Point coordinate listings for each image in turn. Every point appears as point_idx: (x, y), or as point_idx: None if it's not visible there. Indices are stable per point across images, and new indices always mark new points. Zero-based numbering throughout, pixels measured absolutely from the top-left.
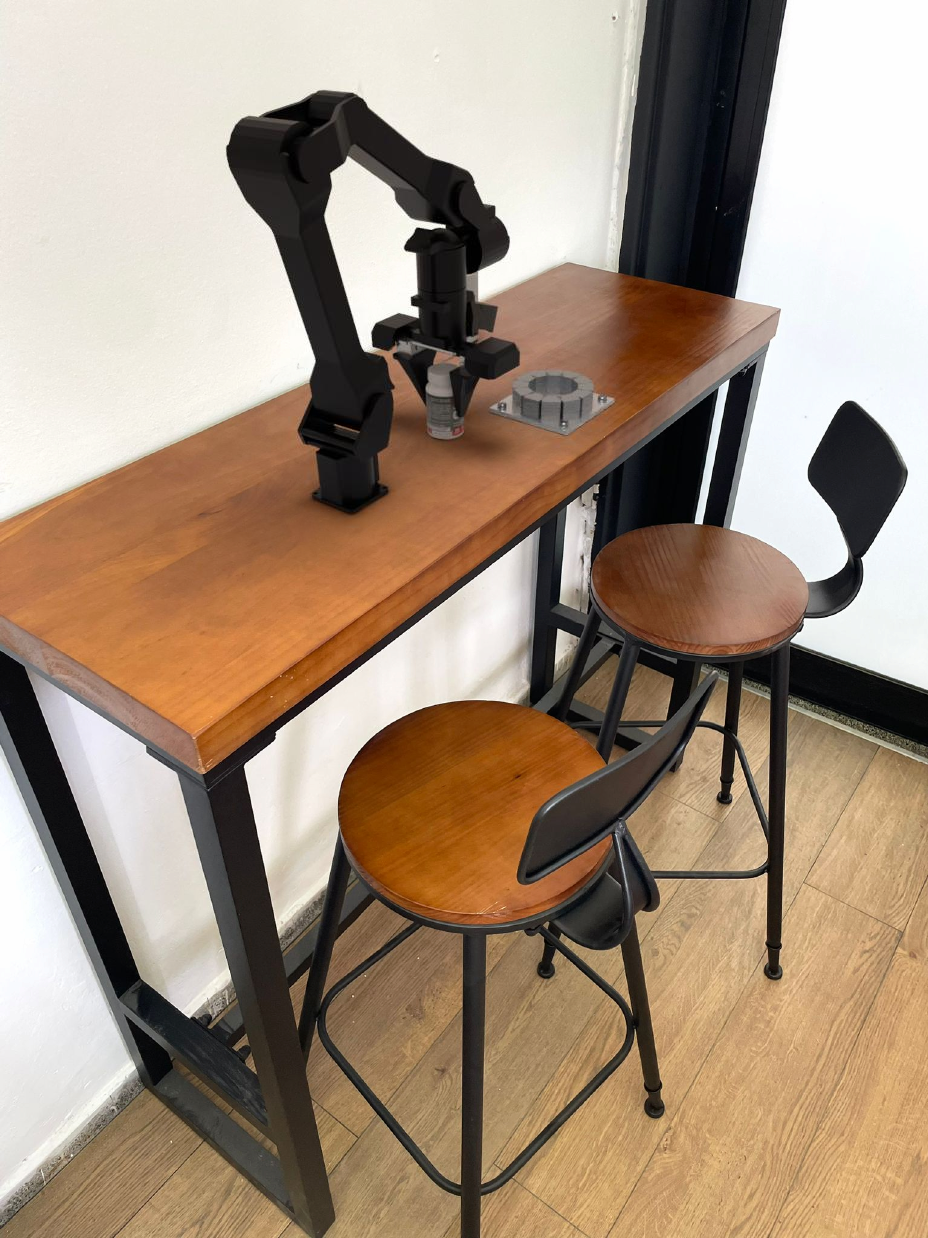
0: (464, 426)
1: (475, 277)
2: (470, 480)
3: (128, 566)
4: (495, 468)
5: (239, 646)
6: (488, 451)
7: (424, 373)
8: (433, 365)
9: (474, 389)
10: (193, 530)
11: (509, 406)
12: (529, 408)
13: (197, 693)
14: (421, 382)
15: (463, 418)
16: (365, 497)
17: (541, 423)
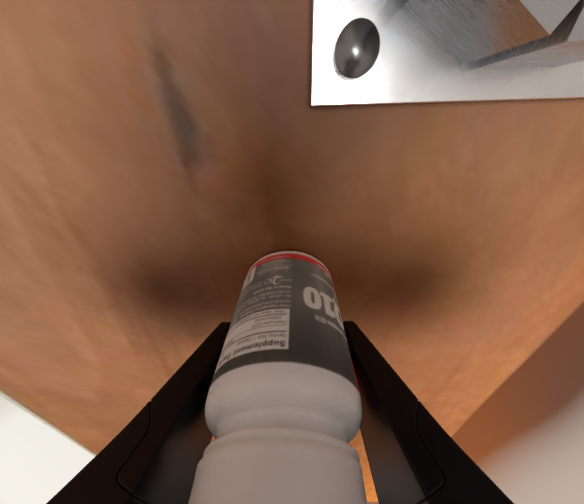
0: (328, 273)
1: None
2: (425, 366)
3: None
4: (456, 331)
5: (365, 489)
6: (419, 296)
7: (179, 479)
8: None
9: (425, 409)
10: None
11: (384, 20)
12: (549, 58)
13: (370, 498)
14: (204, 448)
15: (337, 302)
16: None
17: (573, 96)
